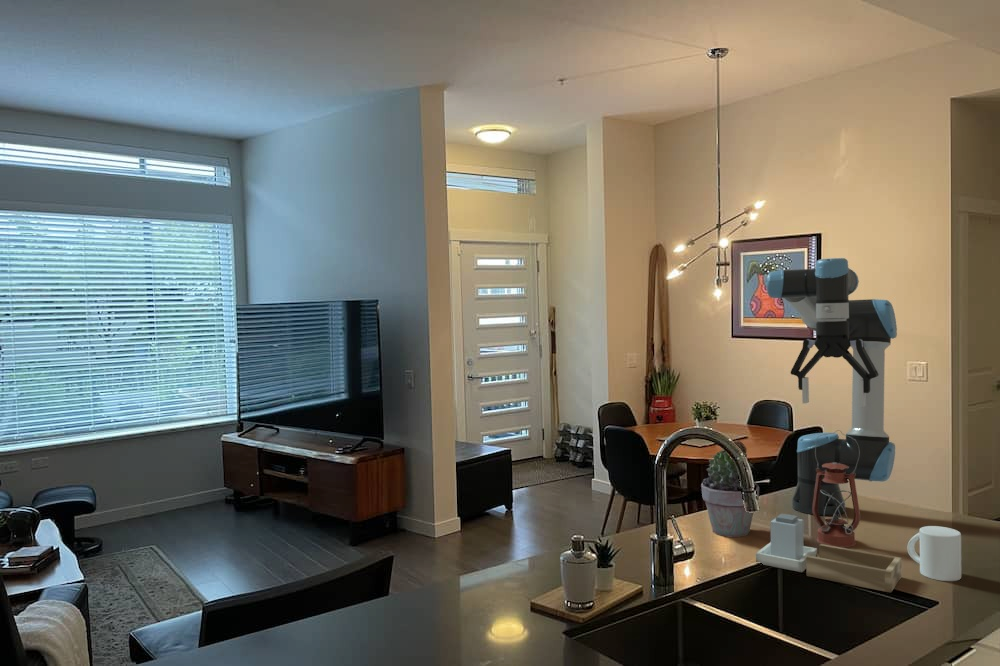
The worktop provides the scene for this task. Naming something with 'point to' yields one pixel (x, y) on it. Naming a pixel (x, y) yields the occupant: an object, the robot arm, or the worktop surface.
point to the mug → (938, 552)
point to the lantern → (835, 527)
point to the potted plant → (726, 496)
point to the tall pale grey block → (787, 536)
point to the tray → (784, 559)
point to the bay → (855, 568)
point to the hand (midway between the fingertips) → (833, 404)
